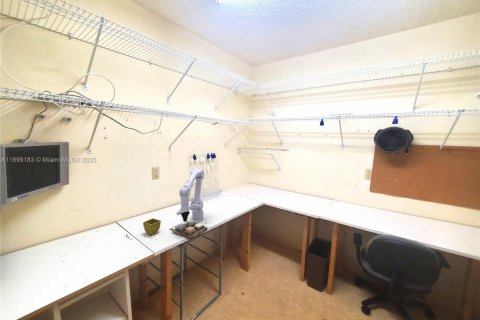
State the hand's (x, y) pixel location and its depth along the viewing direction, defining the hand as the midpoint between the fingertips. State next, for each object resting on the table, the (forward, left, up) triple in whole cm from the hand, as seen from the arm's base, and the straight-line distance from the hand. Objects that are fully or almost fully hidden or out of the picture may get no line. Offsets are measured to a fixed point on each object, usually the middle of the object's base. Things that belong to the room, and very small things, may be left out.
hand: (185, 221), depth 145 cm
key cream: (-7, +6, -6) cm, 12 cm away
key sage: (-7, -2, -5) cm, 9 cm away
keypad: (-3, +2, -9) cm, 9 cm away
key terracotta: (+2, +6, -5) cm, 9 cm away
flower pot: (+14, -19, -9) cm, 25 cm away
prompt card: (-3, -11, -9) cm, 14 cm away
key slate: (+2, -2, -5) cm, 6 cm away
